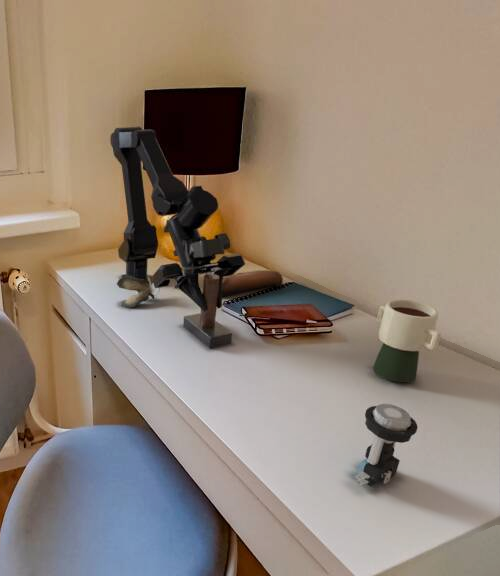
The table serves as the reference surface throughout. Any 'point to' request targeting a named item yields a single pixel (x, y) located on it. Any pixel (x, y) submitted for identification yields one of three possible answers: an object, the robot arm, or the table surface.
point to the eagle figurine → (139, 286)
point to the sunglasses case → (250, 281)
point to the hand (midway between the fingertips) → (212, 309)
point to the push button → (384, 442)
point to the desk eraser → (208, 317)
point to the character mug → (404, 338)
